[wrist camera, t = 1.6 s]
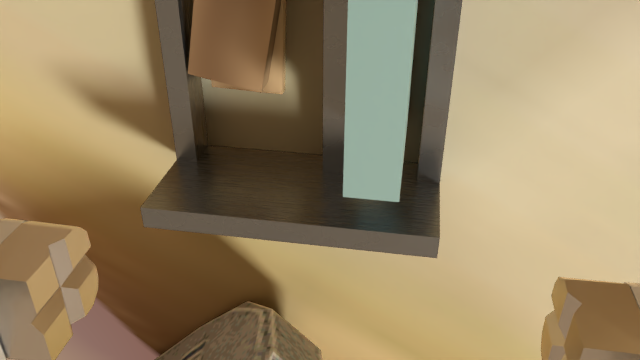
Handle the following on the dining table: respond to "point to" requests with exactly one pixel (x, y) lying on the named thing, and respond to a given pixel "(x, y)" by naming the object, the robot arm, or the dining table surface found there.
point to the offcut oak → (278, 59)
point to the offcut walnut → (234, 41)
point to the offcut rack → (299, 157)
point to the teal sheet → (377, 96)
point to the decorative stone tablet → (245, 338)
